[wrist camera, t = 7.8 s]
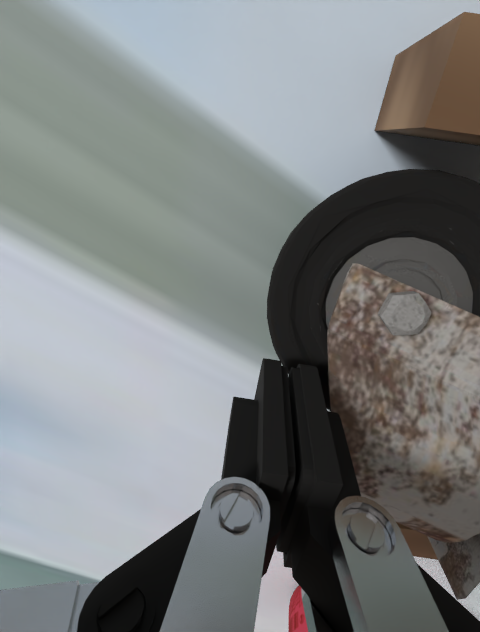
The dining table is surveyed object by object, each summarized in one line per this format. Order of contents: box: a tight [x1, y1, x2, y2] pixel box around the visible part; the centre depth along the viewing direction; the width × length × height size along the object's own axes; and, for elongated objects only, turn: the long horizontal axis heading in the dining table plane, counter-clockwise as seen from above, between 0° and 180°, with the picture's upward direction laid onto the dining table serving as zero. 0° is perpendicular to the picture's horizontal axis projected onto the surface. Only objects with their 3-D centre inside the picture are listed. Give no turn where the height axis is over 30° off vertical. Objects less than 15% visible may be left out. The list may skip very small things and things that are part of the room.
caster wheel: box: [267, 169, 480, 600], centre depth 12 cm, size 7×11×10 cm
